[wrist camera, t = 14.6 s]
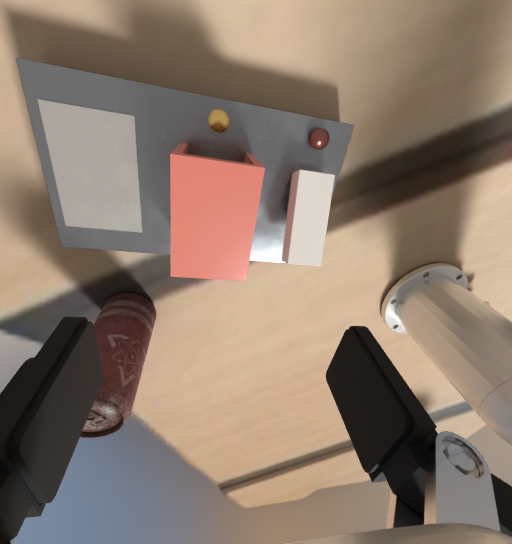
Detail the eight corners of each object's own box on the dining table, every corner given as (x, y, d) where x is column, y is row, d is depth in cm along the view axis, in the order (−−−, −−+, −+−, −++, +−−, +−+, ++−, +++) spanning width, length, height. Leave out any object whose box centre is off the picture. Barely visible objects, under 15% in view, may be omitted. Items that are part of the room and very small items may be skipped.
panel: (340, 123, 25) (361, 125, 22) (303, 252, 32) (314, 270, 29) (40, 63, 20) (3, 54, 16) (75, 233, 27) (55, 252, 23)
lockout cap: (252, 153, 23) (265, 168, 17) (238, 246, 27) (245, 280, 22) (180, 142, 21) (170, 153, 16) (179, 241, 26) (170, 276, 21)
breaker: (324, 178, 24) (334, 174, 22) (312, 262, 26) (320, 266, 24) (292, 173, 24) (299, 169, 22) (281, 259, 25) (287, 263, 23)
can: (104, 285, 31) (38, 396, 19) (160, 295, 32) (132, 402, 21) (101, 323, 33) (42, 440, 22) (153, 330, 35) (124, 441, 24)
